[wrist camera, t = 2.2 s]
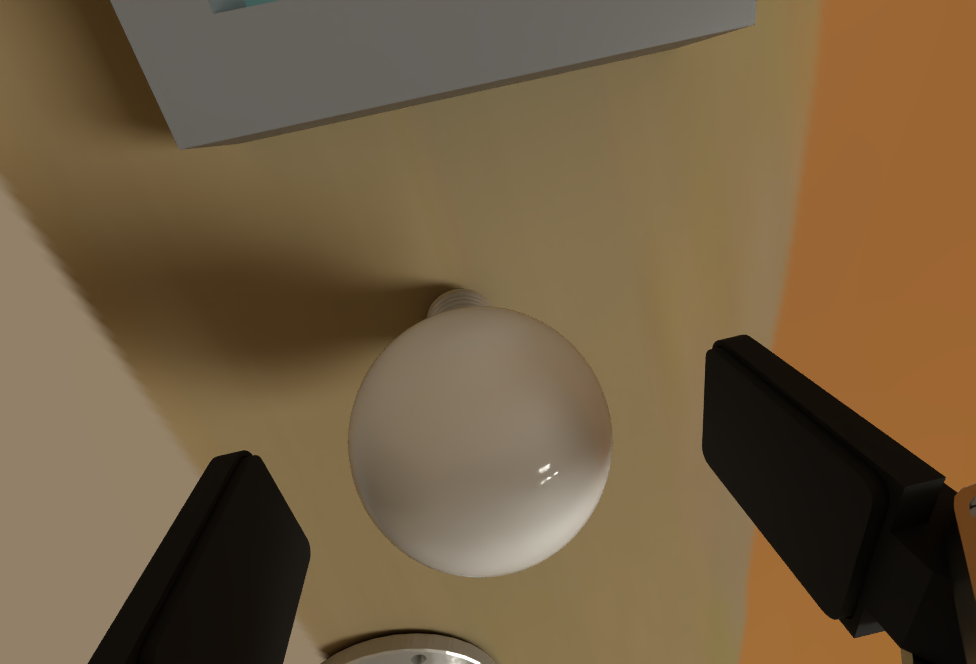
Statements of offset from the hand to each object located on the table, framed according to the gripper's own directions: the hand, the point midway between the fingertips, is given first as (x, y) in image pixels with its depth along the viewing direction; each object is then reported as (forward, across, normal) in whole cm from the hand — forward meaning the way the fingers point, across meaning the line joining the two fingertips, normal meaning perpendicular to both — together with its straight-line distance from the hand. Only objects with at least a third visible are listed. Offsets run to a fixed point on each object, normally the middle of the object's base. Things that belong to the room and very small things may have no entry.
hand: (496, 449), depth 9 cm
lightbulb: (+10, 0, +1) cm, 10 cm away
